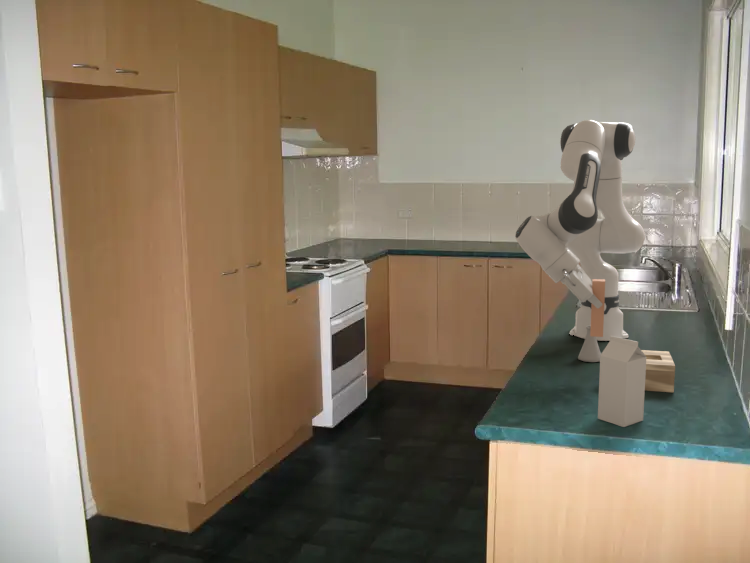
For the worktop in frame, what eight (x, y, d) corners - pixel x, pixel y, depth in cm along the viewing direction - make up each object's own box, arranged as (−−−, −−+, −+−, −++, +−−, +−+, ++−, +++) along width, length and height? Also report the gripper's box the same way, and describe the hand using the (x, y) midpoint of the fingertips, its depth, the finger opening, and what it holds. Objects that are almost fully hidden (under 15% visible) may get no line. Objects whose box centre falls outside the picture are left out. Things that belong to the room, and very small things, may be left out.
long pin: (590, 333, 200) (592, 279, 197) (602, 334, 199) (604, 279, 196) (590, 336, 197) (592, 281, 194) (602, 336, 196) (605, 281, 193)
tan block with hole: (628, 374, 202) (629, 349, 201) (667, 376, 199) (668, 351, 198) (631, 389, 189) (633, 363, 188) (673, 392, 186) (675, 365, 185)
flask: (598, 356, 221) (599, 323, 219) (606, 362, 214) (607, 329, 212) (574, 356, 221) (575, 324, 219) (581, 363, 213) (583, 329, 212)
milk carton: (624, 428, 162) (628, 344, 159) (597, 419, 168) (600, 338, 165) (643, 421, 166) (647, 339, 163) (616, 412, 172) (620, 333, 169)
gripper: (572, 265, 186) (610, 304, 185) (573, 254, 206) (608, 290, 205) (553, 281, 188) (591, 320, 187) (556, 269, 208) (590, 305, 207)
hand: (600, 304), depth 196 cm, fingers closed on long pin, 3 cm apart
